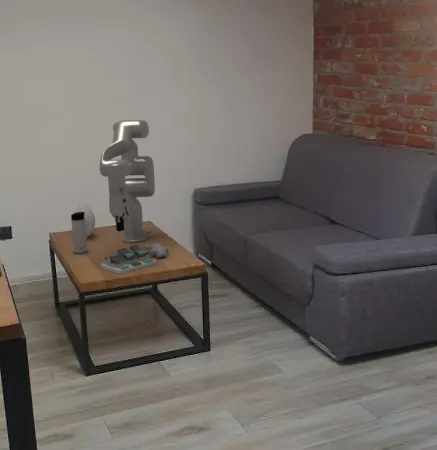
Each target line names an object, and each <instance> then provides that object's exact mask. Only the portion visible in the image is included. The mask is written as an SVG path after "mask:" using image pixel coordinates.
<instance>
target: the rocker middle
mask: <svg viewBox="0 0 437 450" xmlns="http://www.w3.org/2000/svg"><path fill="white" fill-rule="evenodd" d="M131 252H132V251H131V250H129V249H127V248H126V247H123V248H118V249H117V251H116V253H117V254H122V255H123V258H125V259H126V260H131V259H135V255H134V254H132V253H131Z"/></svg>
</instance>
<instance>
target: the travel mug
mask: <svg viewBox="0 0 437 450" xmlns="http://www.w3.org/2000/svg"><path fill="white" fill-rule="evenodd" d="M84 214H85V211H84V212H77V213H75V212H73V213H72V214H71V215H70V218H71V219H70V222H71V231H72V239H73V240H72V242H73V251H74V254H75V255H85V254H87V253H88V241H87V240H88V239H87V238H86V232H87V231H86V228H85V218H84Z"/></svg>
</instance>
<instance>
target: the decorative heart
mask: <svg viewBox="0 0 437 450" xmlns="http://www.w3.org/2000/svg"><path fill="white" fill-rule="evenodd" d="M77 212H85V214H84V218H85V228H86V240H88V237H89V236H91V235H92V234H93V232H94V230H95V227H96V216H95V213H94V211H93V209H92V208H91V206H89V204H87V203H84V202H82V203H80V204H78V205H77V206H76V208H75V210H74V213H77Z"/></svg>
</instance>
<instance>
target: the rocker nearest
mask: <svg viewBox="0 0 437 450" xmlns="http://www.w3.org/2000/svg"><path fill="white" fill-rule="evenodd" d="M128 248H129V249H128V250H129V251H130V252H132V251H135V255H136V256H138V257H139V258H140V257H144V256H148V255H147V252H146V250H145V249H144V248H143V247H140V245H138V244H132V245H129V247H128ZM143 249H144V250H143Z"/></svg>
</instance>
